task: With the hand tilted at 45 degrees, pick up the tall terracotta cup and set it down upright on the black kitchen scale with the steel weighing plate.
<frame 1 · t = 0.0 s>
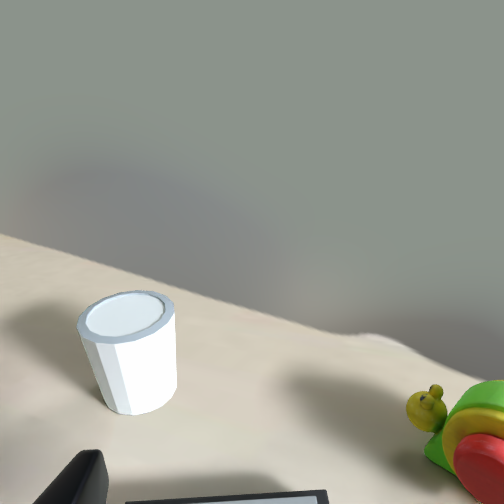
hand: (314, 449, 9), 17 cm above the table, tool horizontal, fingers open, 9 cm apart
white cylinder: (141, 390, 35), on the table
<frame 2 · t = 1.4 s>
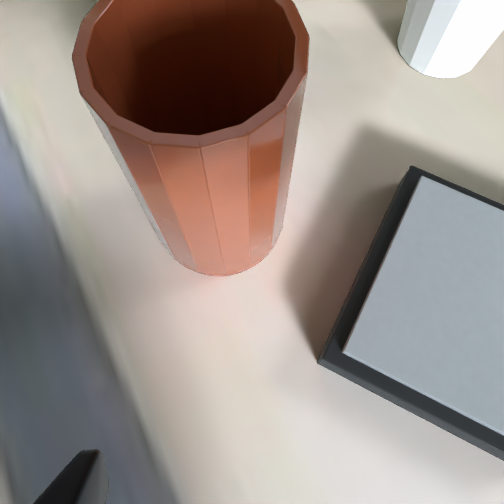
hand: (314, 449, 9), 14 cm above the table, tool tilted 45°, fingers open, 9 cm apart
scale: (454, 310, 24), on the table
cup: (220, 216, 26), on the table
white cylinder: (437, 47, 31), on the table
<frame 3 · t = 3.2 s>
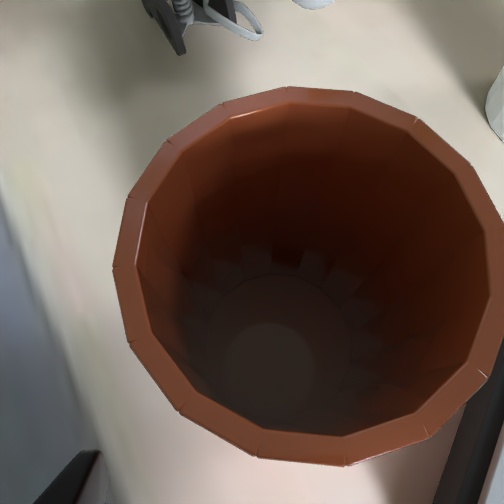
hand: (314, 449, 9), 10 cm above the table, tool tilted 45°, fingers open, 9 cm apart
cup: (277, 345, 21), on the table
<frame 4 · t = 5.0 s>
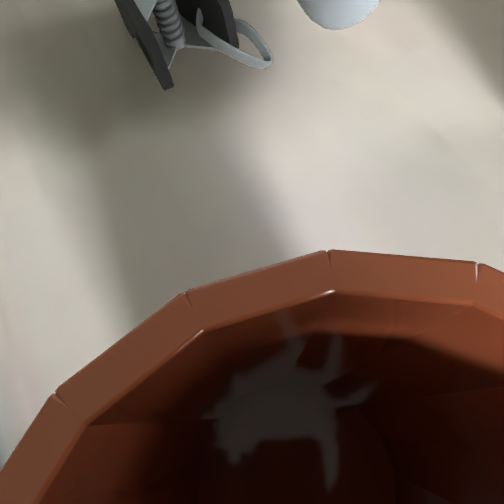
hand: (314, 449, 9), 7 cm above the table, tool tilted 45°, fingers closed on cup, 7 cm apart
cup: (295, 482, 15), on the table, touching gripper
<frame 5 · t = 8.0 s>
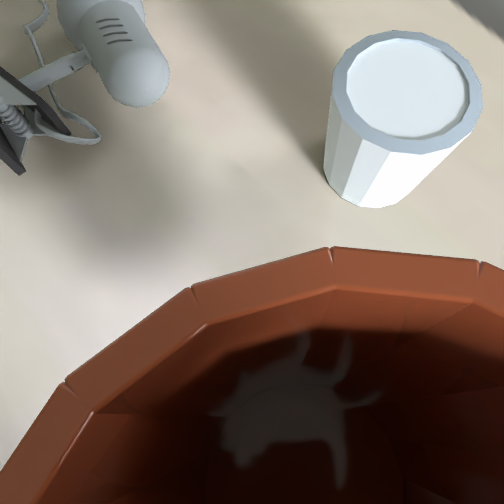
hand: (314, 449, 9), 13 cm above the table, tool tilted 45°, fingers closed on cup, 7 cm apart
cup: (302, 483, 15), point 7 cm above the table, touching gripper
clip-on lamp: (64, 61, 30), on the table
white cylinder: (368, 167, 27), on the table
when the fingers open (9 cm above the table, at t = 11.0 s): cup stays where it is, resting on scale.
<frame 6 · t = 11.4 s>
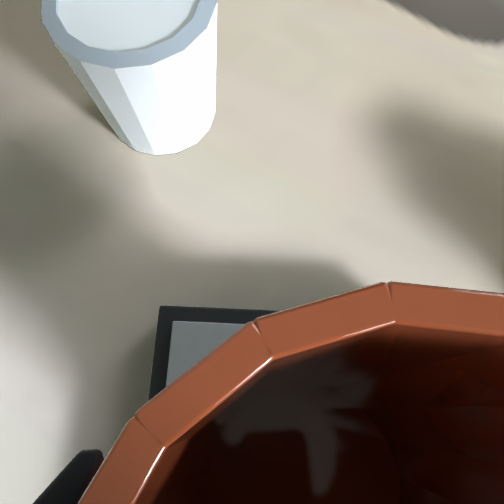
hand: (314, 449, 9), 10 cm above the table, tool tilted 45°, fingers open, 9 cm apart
scale: (287, 467, 18), on the table
cup: (301, 483, 16), point 3 cm above the table, touching scale
white cylinder: (163, 111, 24), on the table
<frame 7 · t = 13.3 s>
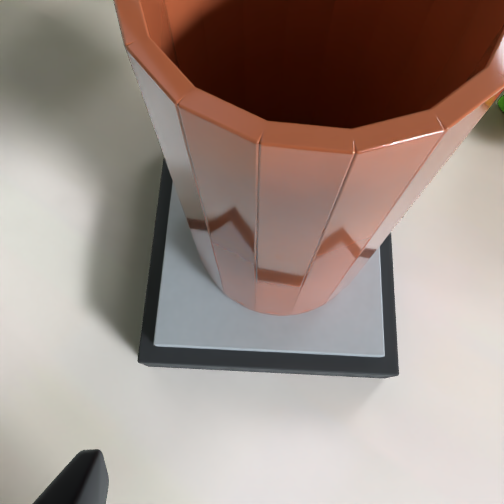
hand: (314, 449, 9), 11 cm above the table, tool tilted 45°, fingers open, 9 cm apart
scale: (270, 249, 23), on the table
cup: (280, 235, 20), point 2 cm above the table, touching scale
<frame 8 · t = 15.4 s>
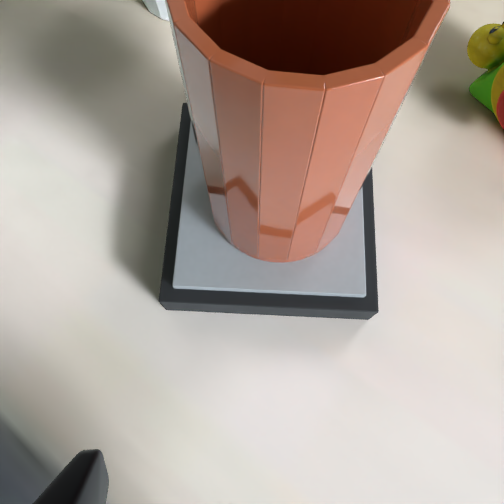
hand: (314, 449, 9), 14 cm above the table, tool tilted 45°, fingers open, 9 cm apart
scale: (270, 213, 26), on the table
cup: (278, 197, 24), point 2 cm above the table, touching scale
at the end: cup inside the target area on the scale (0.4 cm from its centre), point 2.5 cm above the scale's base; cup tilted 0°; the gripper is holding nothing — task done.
